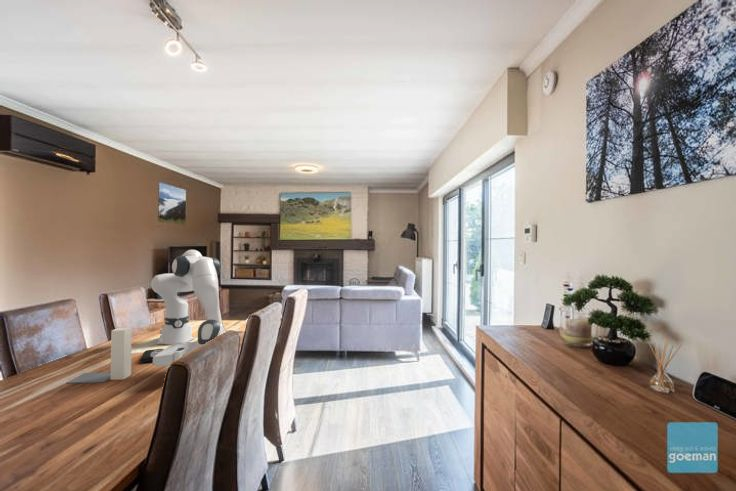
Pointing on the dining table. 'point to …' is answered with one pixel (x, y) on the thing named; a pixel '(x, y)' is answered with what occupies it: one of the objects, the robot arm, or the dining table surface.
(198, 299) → the robot arm
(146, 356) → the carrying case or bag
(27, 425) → the dining table surface
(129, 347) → the cream block
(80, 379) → the slate mat
